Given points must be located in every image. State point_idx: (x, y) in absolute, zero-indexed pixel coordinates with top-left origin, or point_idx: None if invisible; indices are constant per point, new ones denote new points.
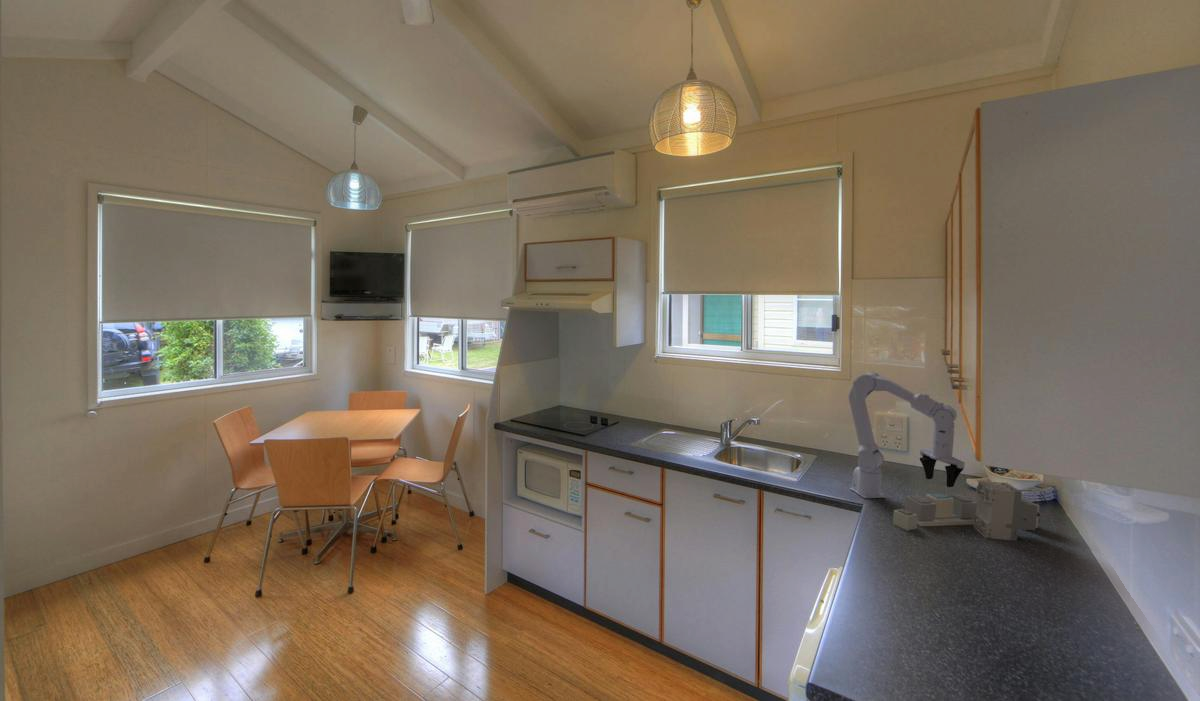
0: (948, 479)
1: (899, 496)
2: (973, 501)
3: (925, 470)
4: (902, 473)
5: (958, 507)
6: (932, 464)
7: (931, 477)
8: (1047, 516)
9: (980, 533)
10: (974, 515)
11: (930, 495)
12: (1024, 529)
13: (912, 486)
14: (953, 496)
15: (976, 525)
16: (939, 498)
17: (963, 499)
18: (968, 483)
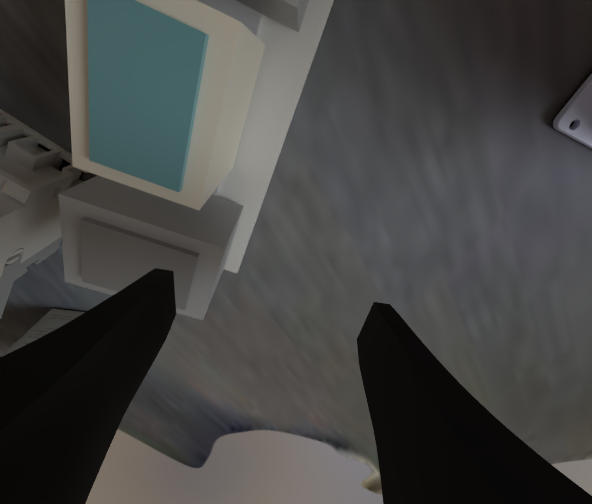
0: (95, 314)
1: (486, 222)
2: (88, 285)
3: (430, 366)
4: (533, 417)
5: (120, 190)
6: (402, 500)
7: (362, 341)
8: (140, 420)
9: (13, 117)
10: (39, 185)
11: (193, 27)
12: (51, 309)
13: (473, 356)
14: (172, 253)
15: (45, 153)
16: (91, 25)
17: (109, 256)
18: (362, 459)
